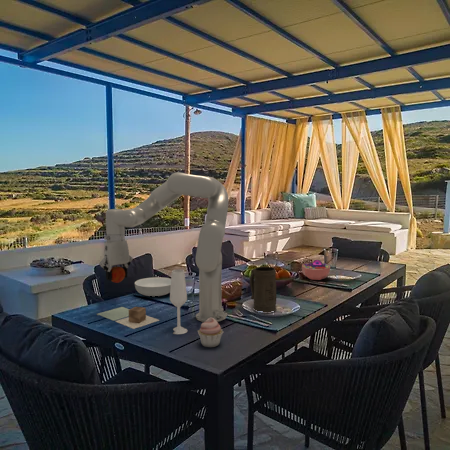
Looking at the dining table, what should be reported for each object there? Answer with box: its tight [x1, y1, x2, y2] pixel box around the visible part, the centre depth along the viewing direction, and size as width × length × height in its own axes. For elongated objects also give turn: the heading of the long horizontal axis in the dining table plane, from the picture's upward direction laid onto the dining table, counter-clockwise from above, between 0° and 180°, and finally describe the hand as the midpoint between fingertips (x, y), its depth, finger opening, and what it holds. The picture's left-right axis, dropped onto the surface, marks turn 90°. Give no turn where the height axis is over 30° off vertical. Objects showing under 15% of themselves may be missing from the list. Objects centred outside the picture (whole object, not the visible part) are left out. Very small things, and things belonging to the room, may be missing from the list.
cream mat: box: [115, 314, 160, 330], centre depth 163 cm, size 13×13×1 cm
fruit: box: [111, 265, 126, 284], centre depth 170 cm, size 7×7×8 cm
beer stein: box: [249, 266, 277, 312], centre depth 179 cm, size 15×10×20 cm
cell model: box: [301, 259, 331, 281], centre depth 235 cm, size 17×20×11 cm
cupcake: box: [197, 318, 224, 348], centre depth 140 cm, size 9×9×10 cm
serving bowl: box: [134, 276, 171, 298], centre depth 204 cm, size 21×21×7 cm
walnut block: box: [128, 306, 147, 323], centre depth 163 cm, size 5×5×5 cm
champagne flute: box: [169, 269, 188, 335], centre depth 152 cm, size 7×7×24 cm
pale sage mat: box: [96, 306, 131, 321], centre depth 172 cm, size 13×13×1 cm
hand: (117, 278), depth 170 cm, fingers closed on fruit, 7 cm apart
